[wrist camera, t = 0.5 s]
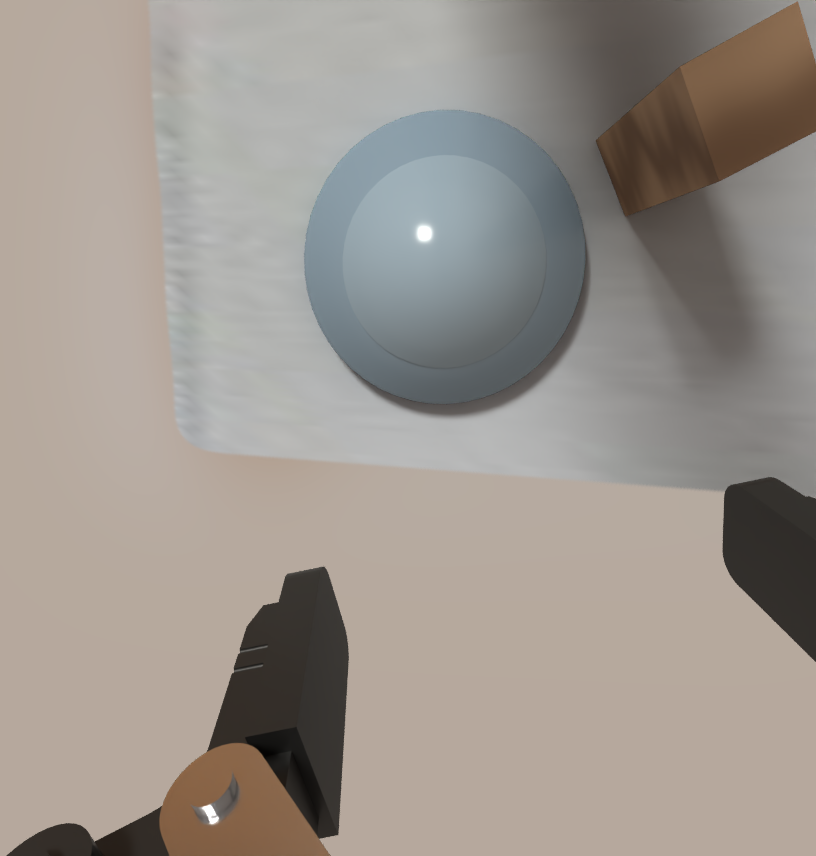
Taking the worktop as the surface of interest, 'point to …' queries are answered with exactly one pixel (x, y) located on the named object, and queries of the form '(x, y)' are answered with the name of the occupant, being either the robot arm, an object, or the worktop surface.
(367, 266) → the slate plate
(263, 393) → the worktop surface
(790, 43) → the walnut block
